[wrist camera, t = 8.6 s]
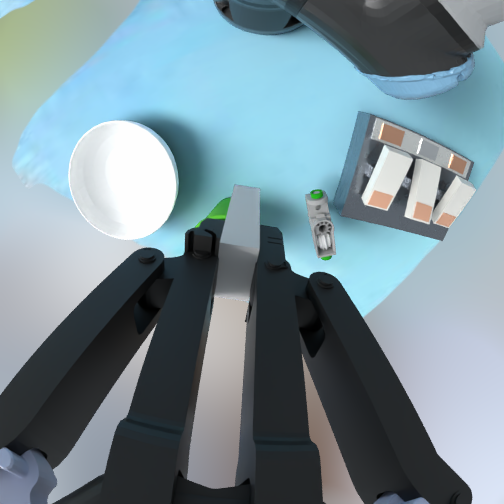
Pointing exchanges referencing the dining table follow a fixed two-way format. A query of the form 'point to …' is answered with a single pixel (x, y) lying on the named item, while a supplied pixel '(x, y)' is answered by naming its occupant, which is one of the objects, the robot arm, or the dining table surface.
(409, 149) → the console
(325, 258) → the mechanical component
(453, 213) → the block
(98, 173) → the bowl
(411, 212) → the rocker
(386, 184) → the block
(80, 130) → the dining table surface
